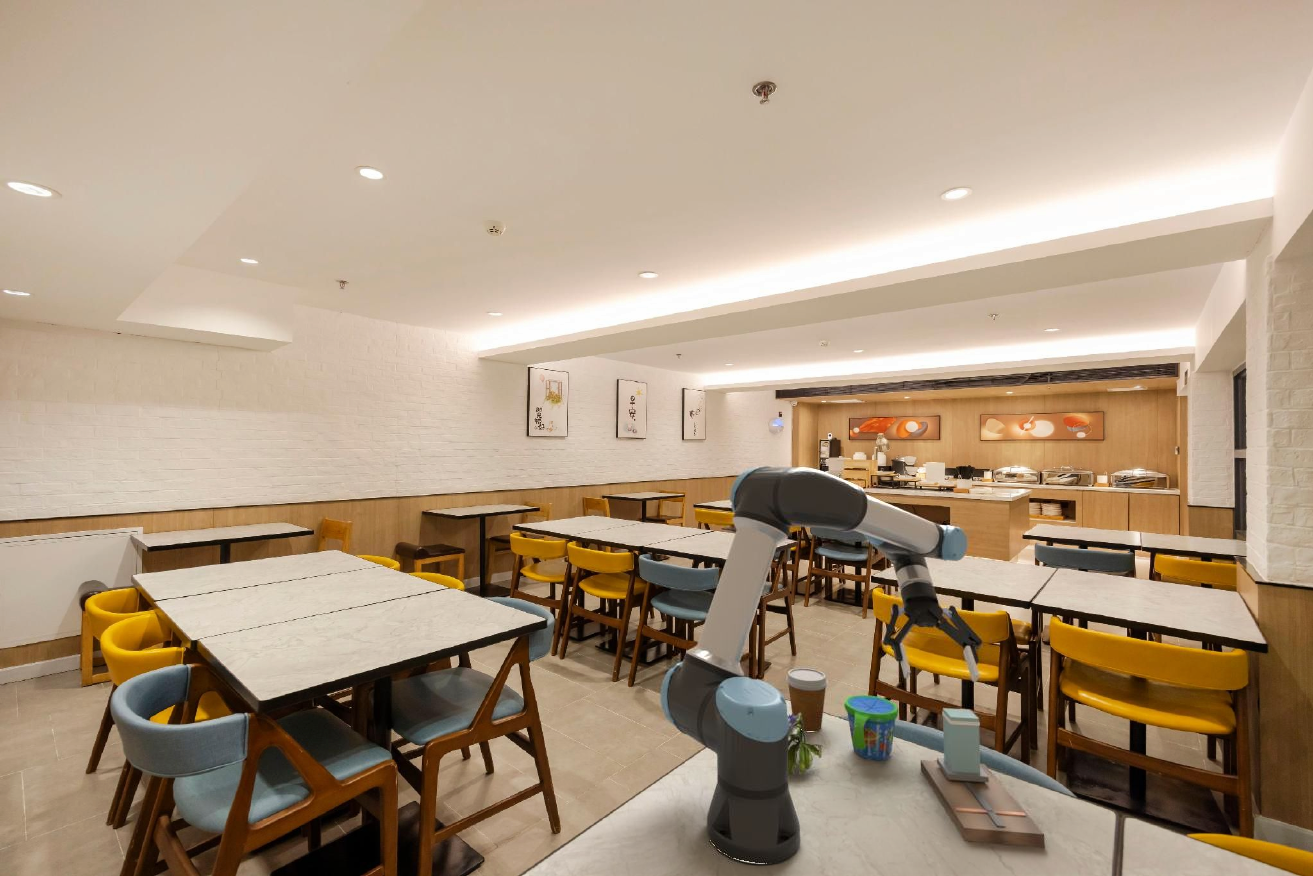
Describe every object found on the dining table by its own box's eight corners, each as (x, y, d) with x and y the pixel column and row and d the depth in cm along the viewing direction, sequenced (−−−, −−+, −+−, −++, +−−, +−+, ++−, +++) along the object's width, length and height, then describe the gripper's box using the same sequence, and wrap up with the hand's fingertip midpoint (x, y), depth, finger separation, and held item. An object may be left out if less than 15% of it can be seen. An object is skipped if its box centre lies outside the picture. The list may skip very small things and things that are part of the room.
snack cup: (865, 733, 131) (864, 687, 131) (911, 749, 123) (910, 700, 124) (830, 756, 120) (829, 707, 120) (879, 776, 112) (878, 722, 113)
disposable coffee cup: (830, 737, 128) (829, 683, 129) (787, 733, 130) (786, 679, 131) (826, 719, 138) (825, 668, 138) (786, 716, 140) (785, 666, 140)
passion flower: (774, 785, 119) (762, 722, 126) (826, 778, 118) (811, 715, 125) (772, 777, 110) (759, 710, 118) (829, 769, 109) (812, 702, 117)
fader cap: (948, 779, 106) (946, 718, 107) (937, 763, 112) (935, 705, 113) (988, 782, 105) (986, 721, 106) (975, 765, 111) (973, 707, 112)
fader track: (964, 840, 93) (964, 826, 93) (920, 770, 114) (920, 758, 115) (1044, 847, 91) (1044, 832, 91) (984, 774, 113) (984, 763, 113)
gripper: (968, 599, 136) (999, 688, 121) (860, 596, 140) (876, 682, 124) (977, 581, 131) (1011, 671, 116) (864, 578, 135) (882, 665, 119)
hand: (941, 677), depth 120 cm, fingers open, 13 cm apart
